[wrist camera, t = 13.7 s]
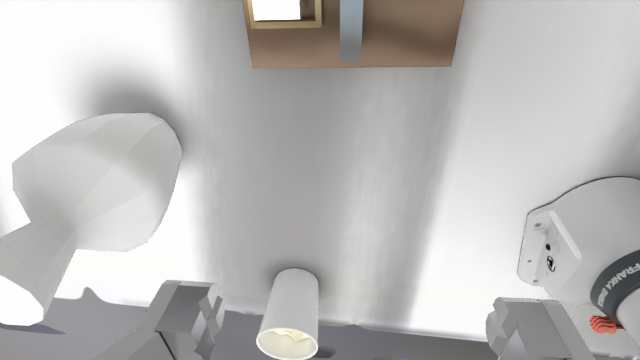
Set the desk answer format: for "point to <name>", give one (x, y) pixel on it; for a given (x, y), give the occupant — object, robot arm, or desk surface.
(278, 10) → the bar
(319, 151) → the desk surface
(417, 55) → the board
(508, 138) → the desk surface
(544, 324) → the robot arm
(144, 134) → the vase
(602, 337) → the desk surface
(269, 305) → the candle holder
